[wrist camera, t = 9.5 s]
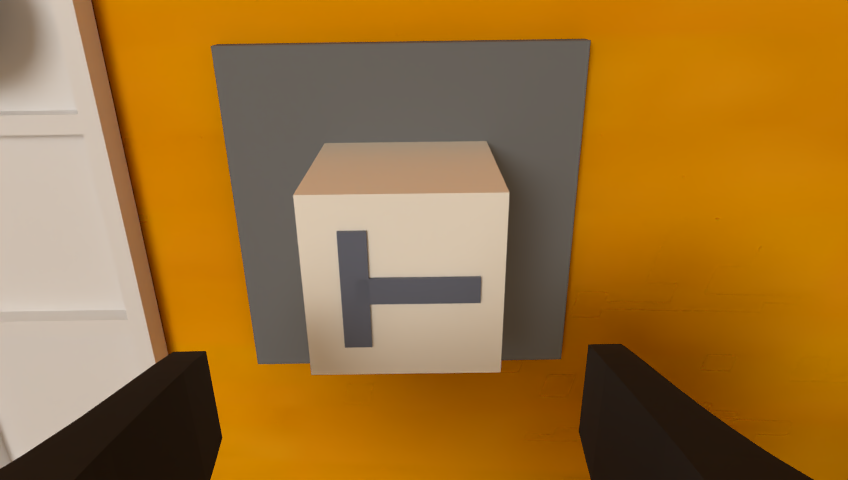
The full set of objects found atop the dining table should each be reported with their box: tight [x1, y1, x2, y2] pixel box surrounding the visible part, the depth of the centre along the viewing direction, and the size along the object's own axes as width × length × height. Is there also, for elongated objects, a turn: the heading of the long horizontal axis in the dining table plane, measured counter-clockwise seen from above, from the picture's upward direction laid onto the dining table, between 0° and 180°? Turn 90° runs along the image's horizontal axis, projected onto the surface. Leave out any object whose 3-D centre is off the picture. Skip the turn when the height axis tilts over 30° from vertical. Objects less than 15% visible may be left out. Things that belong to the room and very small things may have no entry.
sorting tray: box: [0, 0, 168, 469], centre depth 19 cm, size 22×8×1 cm, turn 1°
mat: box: [211, 39, 591, 364], centre depth 19 cm, size 11×11×1 cm
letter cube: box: [293, 141, 509, 375], centre depth 17 cm, size 5×5×5 cm
